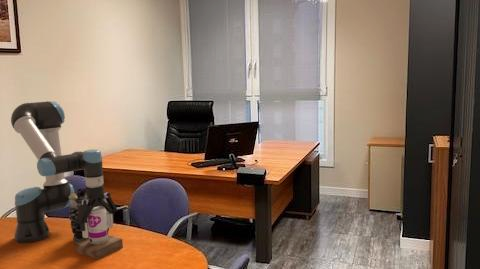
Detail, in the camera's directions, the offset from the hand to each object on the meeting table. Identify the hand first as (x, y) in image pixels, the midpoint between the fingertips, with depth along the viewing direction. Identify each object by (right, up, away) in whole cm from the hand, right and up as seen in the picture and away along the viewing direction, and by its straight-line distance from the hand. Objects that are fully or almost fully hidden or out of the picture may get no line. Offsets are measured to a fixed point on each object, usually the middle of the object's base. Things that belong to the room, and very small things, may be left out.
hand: (98, 232), depth 186 cm
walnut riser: (0, -8, +1) cm, 8 cm away
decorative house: (-9, -6, +17) cm, 20 cm away
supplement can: (0, -4, +1) cm, 4 cm away
